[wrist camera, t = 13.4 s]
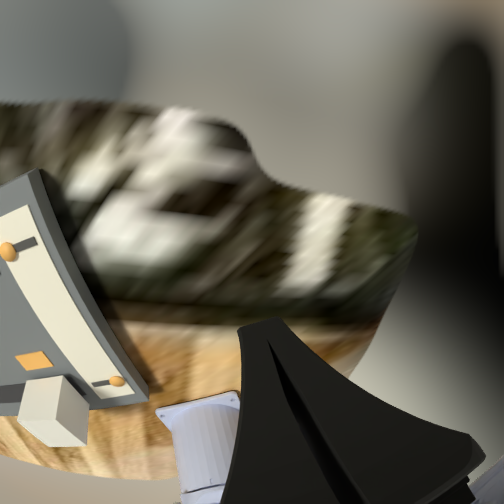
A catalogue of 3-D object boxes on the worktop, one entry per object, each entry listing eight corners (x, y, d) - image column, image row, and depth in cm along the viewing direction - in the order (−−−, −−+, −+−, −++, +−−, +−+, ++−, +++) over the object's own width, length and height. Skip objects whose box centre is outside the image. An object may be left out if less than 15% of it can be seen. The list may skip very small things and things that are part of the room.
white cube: (89, 404, 20) (86, 445, 16) (53, 408, 19) (48, 446, 16) (63, 375, 18) (55, 419, 14) (26, 380, 17) (16, 421, 14)
